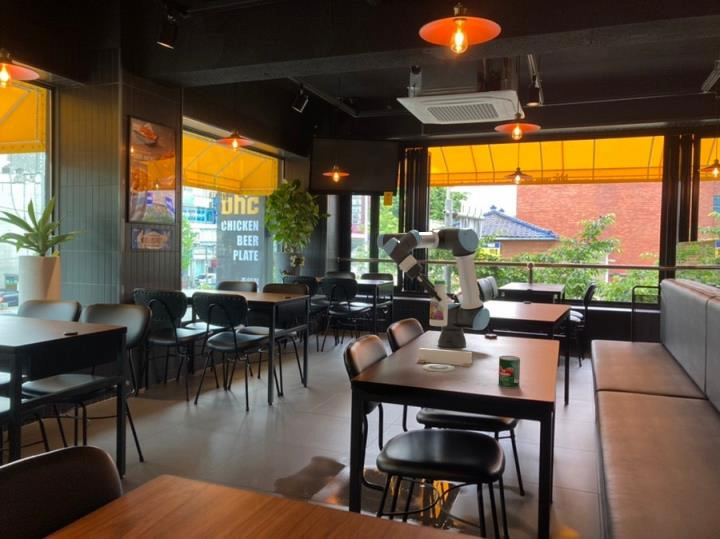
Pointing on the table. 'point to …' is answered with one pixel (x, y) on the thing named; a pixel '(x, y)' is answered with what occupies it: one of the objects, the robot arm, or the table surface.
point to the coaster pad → (439, 367)
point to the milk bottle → (438, 306)
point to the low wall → (445, 357)
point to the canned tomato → (509, 371)
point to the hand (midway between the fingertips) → (446, 305)
